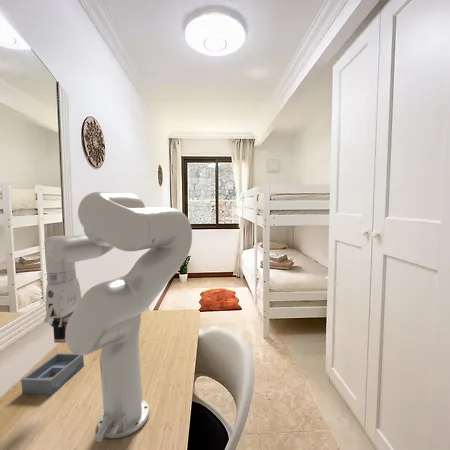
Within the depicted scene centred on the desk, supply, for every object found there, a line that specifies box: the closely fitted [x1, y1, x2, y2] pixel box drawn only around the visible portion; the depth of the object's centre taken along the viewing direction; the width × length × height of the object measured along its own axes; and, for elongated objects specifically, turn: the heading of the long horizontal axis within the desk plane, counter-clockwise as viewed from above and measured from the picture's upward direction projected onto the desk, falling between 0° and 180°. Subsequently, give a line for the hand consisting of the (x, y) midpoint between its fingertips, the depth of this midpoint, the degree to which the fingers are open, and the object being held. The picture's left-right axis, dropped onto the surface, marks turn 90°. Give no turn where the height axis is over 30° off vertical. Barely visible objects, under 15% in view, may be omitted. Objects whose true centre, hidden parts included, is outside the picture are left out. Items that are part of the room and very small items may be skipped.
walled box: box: [20, 352, 85, 396], centre depth 88 cm, size 15×10×4 cm, turn 173°
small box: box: [53, 313, 72, 344], centre depth 82 cm, size 5×4×8 cm
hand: (66, 334), depth 82 cm, fingers closed on small box, 4 cm apart
